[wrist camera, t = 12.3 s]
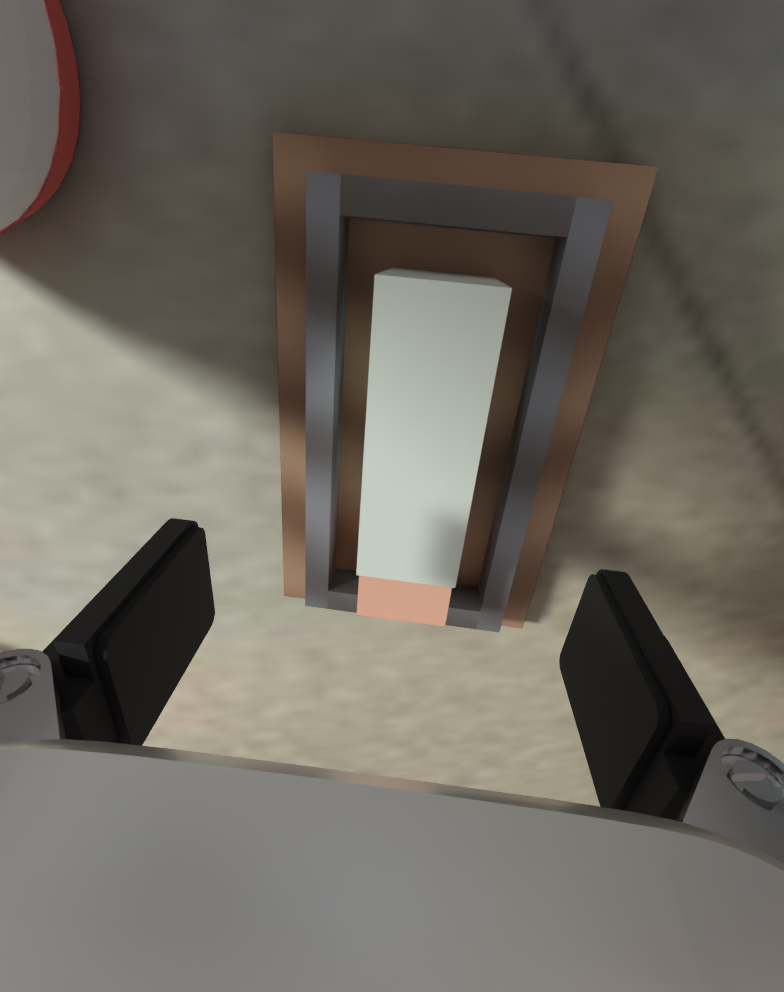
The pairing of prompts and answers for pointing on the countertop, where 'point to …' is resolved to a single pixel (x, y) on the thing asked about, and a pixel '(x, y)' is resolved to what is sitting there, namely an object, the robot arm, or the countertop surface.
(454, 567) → the white bar
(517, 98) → the countertop surface
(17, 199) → the citrus juicer
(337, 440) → the jig
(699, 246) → the countertop surface
